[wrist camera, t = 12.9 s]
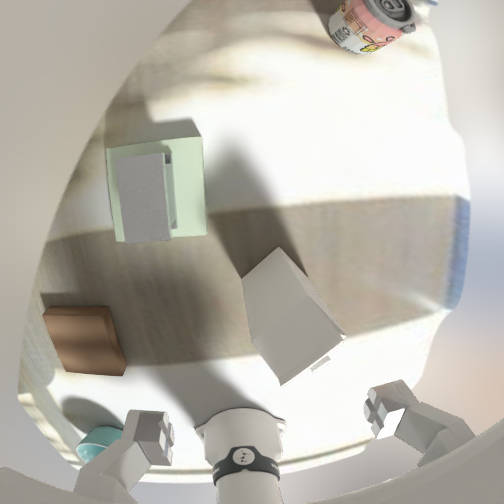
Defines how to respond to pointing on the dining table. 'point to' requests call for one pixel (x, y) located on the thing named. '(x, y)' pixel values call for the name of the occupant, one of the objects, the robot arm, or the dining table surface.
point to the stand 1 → (85, 340)
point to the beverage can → (370, 24)
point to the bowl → (97, 442)
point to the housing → (147, 197)
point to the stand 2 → (185, 179)
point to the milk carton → (288, 318)
